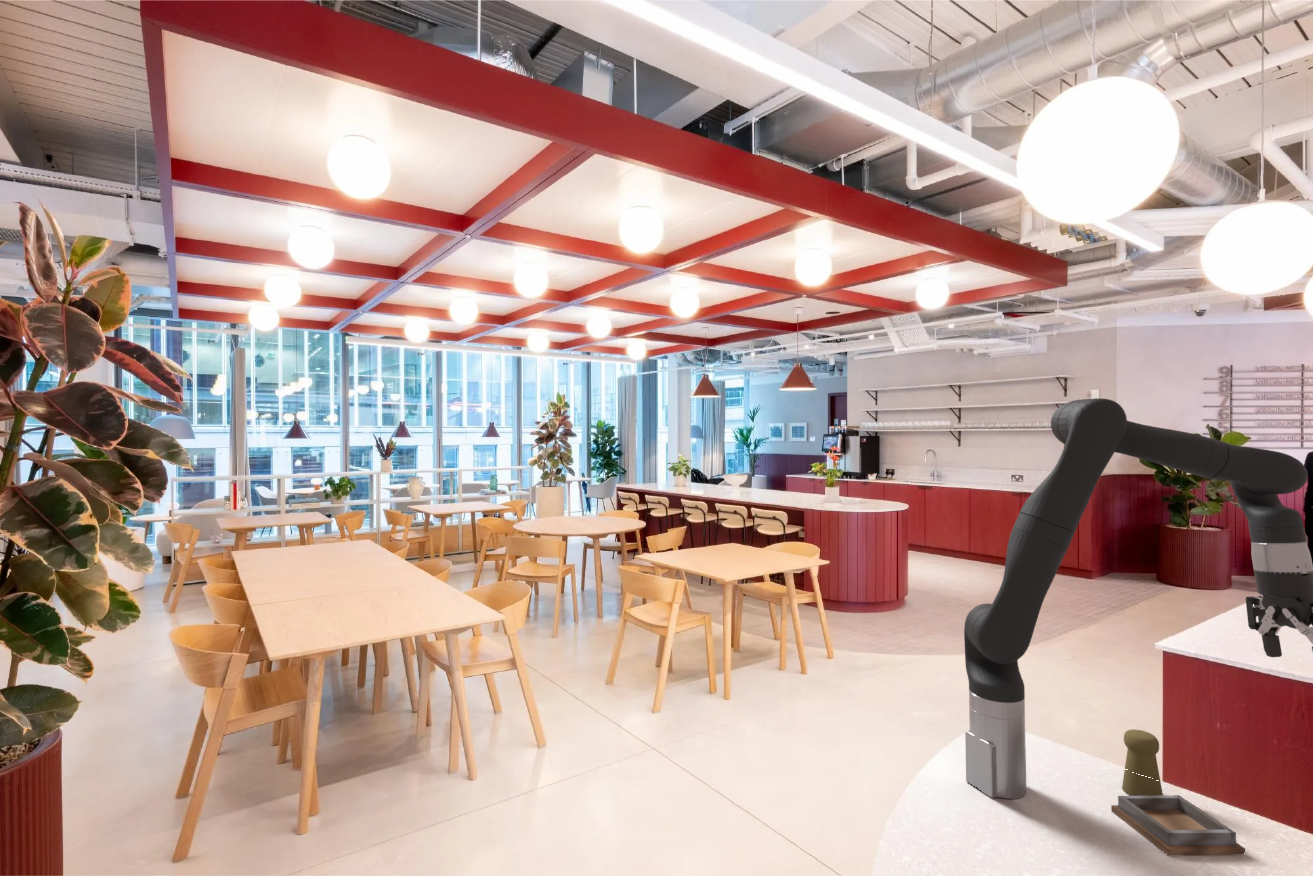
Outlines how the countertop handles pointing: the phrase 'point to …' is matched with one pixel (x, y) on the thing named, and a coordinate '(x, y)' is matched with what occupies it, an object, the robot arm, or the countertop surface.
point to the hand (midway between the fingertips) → (1298, 662)
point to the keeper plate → (1177, 825)
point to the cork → (1141, 764)
